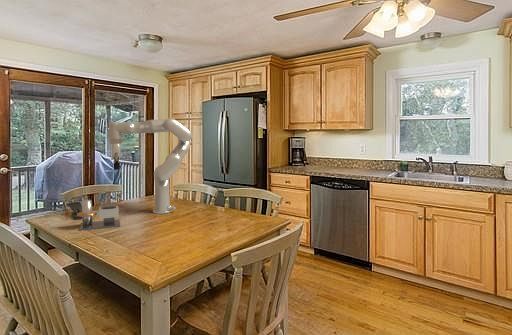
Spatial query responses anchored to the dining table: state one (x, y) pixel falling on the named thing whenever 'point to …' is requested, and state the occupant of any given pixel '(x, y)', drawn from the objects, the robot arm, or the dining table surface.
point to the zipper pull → (74, 208)
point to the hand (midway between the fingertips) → (116, 168)
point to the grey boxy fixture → (102, 213)
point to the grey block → (109, 220)
